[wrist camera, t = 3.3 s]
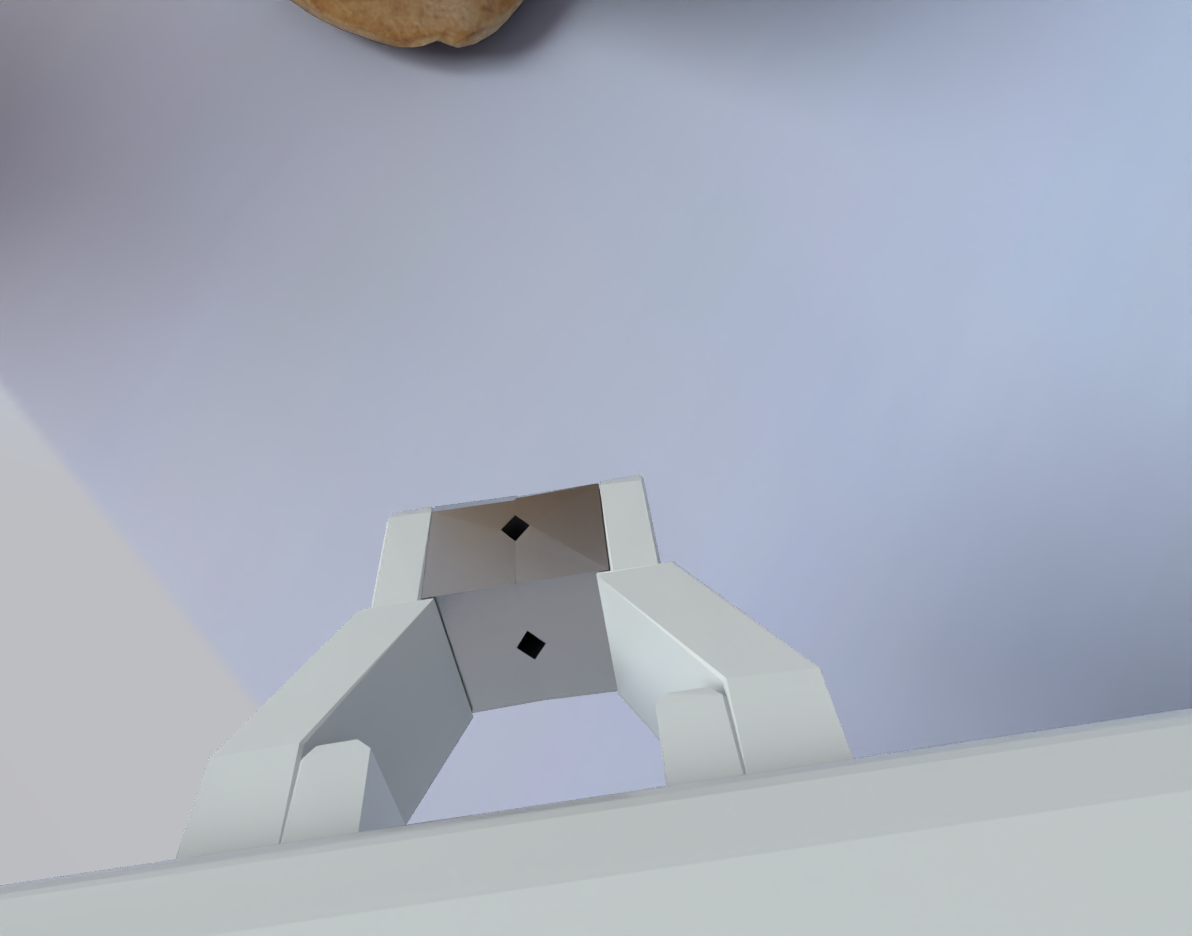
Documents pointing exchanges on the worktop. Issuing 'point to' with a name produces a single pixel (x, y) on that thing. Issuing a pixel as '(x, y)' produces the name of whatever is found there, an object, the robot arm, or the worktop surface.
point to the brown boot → (415, 19)
